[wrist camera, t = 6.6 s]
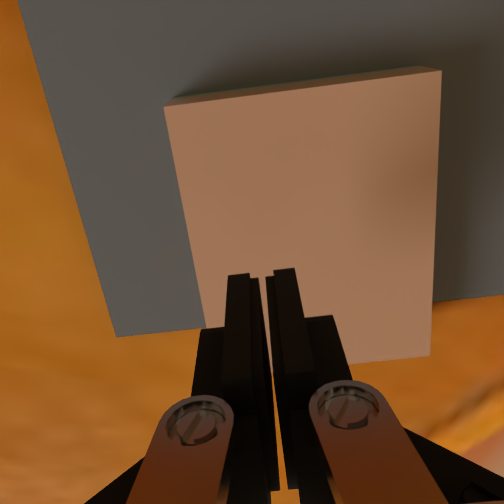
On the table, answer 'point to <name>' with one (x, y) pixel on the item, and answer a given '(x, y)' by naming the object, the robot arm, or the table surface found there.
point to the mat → (244, 76)
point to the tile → (318, 199)
